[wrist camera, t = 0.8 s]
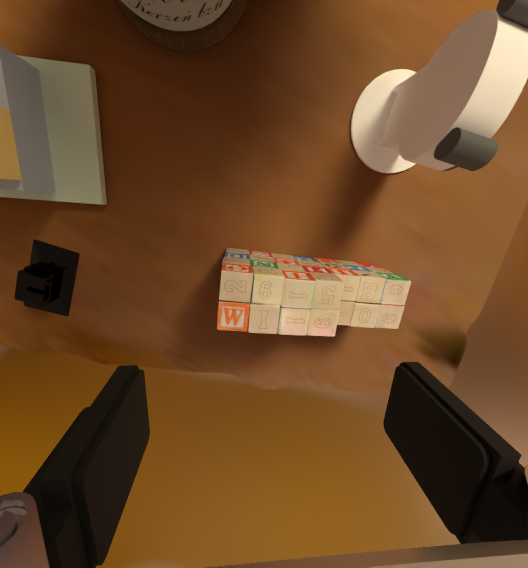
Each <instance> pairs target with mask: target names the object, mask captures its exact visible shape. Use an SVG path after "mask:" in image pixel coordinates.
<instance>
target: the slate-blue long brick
mask: <svg viewBox="0 0 528 568" xmlns="http://www.w3.org/2000/svg"><path fill="white" fill-rule="evenodd" d="M0 106H1V107H3V108H6V109H8V110H10V115H11V121H12V127H13V133H14V138H15V144H16V150H17V156H18V162H19V167H20V173H21V179H22V180H12V179H0V189H3V190H16V191H35V192H56V189H55V182H54V175H53V168H52V161H51V154H50V147H49V140H48V132H47V125H46V118H45V111H44V104H43V97H42V90H41V83H40V76H39V70H38V69H37V68H35V67H34V66H32V65H31V64H29V63H28V62H26V61H25V60H23V59H21V58H20V57H18V56H17V55H15V54H14V53H12V52H11V51H9V50H8V49H6V48H5V47H3V46H2V45H0Z"/></svg>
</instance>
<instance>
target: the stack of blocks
mask: <svg viewBox="0 0 528 568" xmlns="http://www.w3.org/2000/svg"><path fill="white" fill-rule="evenodd" d="M410 284H411V281H410V280H408V279H406V278H404V277H402V276H400V275H398V274H393V273H391V272H389V271H387V270H385V269H382V268H380V267H378V266H376V265H374V264H366V263H356V262H352V261H343V260H333V259H325V258H316V257H314V258H311V257H302V256H291V255H283V254H273V253H269V252H260V251H251V250H244V249H236V248H227V249H226V253H225V256H224V258H223V261H222V270H221V282H220V293H219V307H218V320H217V330H230V331H248V332H250V333H266V334H277V333H278V334H280V335H302V336H304V335H310V336H332V337H334V336H335V332H336V327H337V325H346V326H351V327H365V328H374V327H377V328H390V329H398V327H399V324H400V320H401V317H402V313H403V310H404V304H405V301H406V298H407V295H408V291H409V287H410Z"/></svg>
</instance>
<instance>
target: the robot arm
mask: <svg viewBox="0 0 528 568" xmlns="http://www.w3.org/2000/svg"><path fill="white" fill-rule="evenodd" d="M384 429H385V432H386V433H387V435H388V437H389V438H390V440H391V441H392V443H393V444H394V446H395V447H396V449H397V450H398V452H399V454H400V455H401V457H402V459H403V460H404V462H405V463H406V465H407V466H408V468H409V470H410V471H411V473H412V474H413V476H414V477H415V479H416V481H417V482H418V484H419V485H420V487H421V488H422V490H423V491H424V493H425V495H426V496H427V498H428V499H429V501H430V503H431V504H432V506H433V507H434V509H435V510H436V512H437V514H438V515H439V517H440V518H441V520H442V521H443V523H444V525H445V526H446V528H447V529H448V530H449V531H450V532H451V533H452V534H454V535H455V536H456V537H457V539H458V540H459V542H460V543H461V544H457V545H445V546H434V547H423V548H410V549H398V550H387V551H375V552H364V553H353V554H342V555H332V556H321V557H309V558H299V559H288V560H277V561H268V562H256V563H246V564H236V565H225V566H215V567H205V568H528V464H527V465H526V466H525V468H524V467H523V466H522V465H521V464H520V463H519V459H520V457H521V454H520V453H519V452H518V451H516V450H515V449H514V448H513V447H512V446H511V445H510V444H509V443H508V442H506V441H505V440H504V439H503V438H502V437H501V436H500V435H499V434H498V433H496V432H495V431H494V430H493V429H492V428H491V427H490V426H489V425H488V424H486V423H485V422H484V421H483V420H482V419H481V418H480V417H479V416H478V415H476V414H475V413H474V412H473V411H472V410H471V409H470V408H469V407H468V406H467V405H465V404H464V403H463V402H462V401H461V400H460V399H459V398H458V397H457V396H455V395H454V394H453V393H452V392H451V391H450V390H449V389H448V388H447V387H445V386H444V385H443V384H442V383H441V382H440V381H439V380H438V379H437V378H435V377H434V376H433V375H432V374H431V373H430V372H429V371H428V370H427V369H426V368H424V367H423V366H422V365H421V364H420V363H418V362H402V363H401V364H400V365H399V366H398V367H396V370H395V374H394V378H393V383H392V387H391V391H390V396H389V400H388V405H387V409H386V413H385V418H384ZM149 434H150V429H149V419H148V408H147V398H146V387H145V377H144V371H143V370H139V368H138V366H137V365H134V366H119V367H118V368H117V369H116V370H115V372H114V373H113V375H112V376H111V378H110V379H109V380H108V382H107V383H106V385H105V386H104V388H103V389H102V390H101V392H100V393H99V395H98V396H97V397H96V399H95V400H94V402H93V403H92V405H91V406H90V407H87V408H85V409H83V410H82V412H81V413H80V414H79V415H78V417H77V418H76V420H75V421H74V422H73V424H72V425H71V426H70V428H69V429H68V430H67V432H66V433H65V434H64V436H63V437H62V439H61V440H60V441H59V443H58V444H57V445H56V447H55V448H54V450H53V451H52V452H51V454H50V455H49V456H48V458H47V459H46V461H45V462H44V463H43V465H42V466H41V467H40V469H39V470H38V471H37V473H36V474H35V476H34V477H33V478H32V480H31V481H30V482H29V484H28V485H27V486H26V488H25V489H24V491H23V492H14V493H10V494H5V495H2V496H0V568H96V566H98V565H102V564H103V562H104V560H105V558H106V556H107V553H108V551H109V548H110V545H111V542H112V540H113V537H114V534H115V531H116V528H117V525H118V523H119V520H120V517H121V515H122V512H123V509H124V507H125V504H126V501H127V498H128V495H129V493H130V490H131V487H132V485H133V482H134V479H135V476H136V474H137V471H138V468H139V465H140V462H141V460H142V457H143V454H144V451H145V449H146V446H147V443H148V440H149Z"/></svg>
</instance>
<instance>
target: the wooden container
mask: <svg viewBox="0 0 528 568" xmlns="http://www.w3.org/2000/svg"><path fill="white" fill-rule="evenodd" d="M115 1H116V3H117V4H118V6H119V7H120V9H121V10H122V12H123V13H124V15H125V16H126V17H127V19H128V20H129V21H130V22H131V23H132V25H133V26H134V27H135V28H136V29H137V30H138V31H139V32H141V33H142V34H143V35H144V36H145V37H147V38H148V39H149V40H151V41H153V42H154V43H156V44H158V45H160V46H162V47H165V48H168V49H171V50H174V51H181V52H195V51H201V50H204V49H207V48H209V47H211V46H213V45H215V44H217V43H219V42H220V41H222V40H223V39H224V38H225V37H226V36H227V35H228V34H229V33H230V32H231V31H232V30H233V29H234V27H235V26H236V25H237V23H238V22H239V20H240V18H241V16H242V14H243V12H244V10H245V7H246V4H247V1H248V0H115Z"/></svg>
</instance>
